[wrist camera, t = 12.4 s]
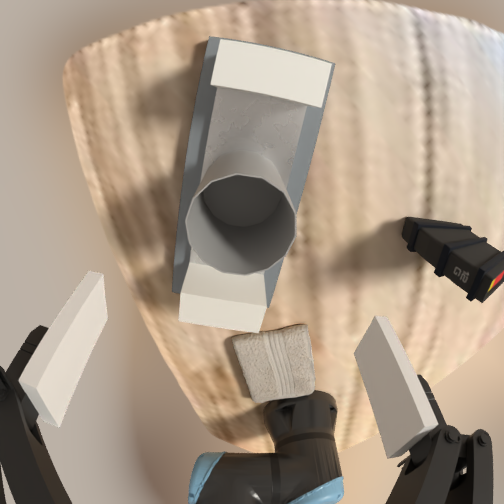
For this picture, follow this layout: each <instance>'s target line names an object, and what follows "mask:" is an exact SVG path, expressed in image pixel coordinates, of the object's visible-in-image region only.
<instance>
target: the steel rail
mask: <svg viewBox="0 0 504 504" xmlns="http://www.w3.org/2000/svg"><path fill="white" fill-rule="evenodd" d="M306 108H307V106H305V105H301V104H297V103H293V102H289V101H285V100H281V99H276V98H272V97H267V96H262V95H257V94H252V93H247V92H241V91H236V90H230V89H223V88H217V92H216V96H215V101H214V106H213V112H212V117H211V122H210V128H209V133H208V139H207V144H206V150H205V156H204V162H203V168H202V174H201V181H202V179H203V177H204V175H205V173H206V171H207V169H208V167H209V166H210V165H211V164H212V163H214V162H215V161H216V160H217V159H218V158H219V157H220V156H221V155H223V154H226V153H230V152H233V151H236V150H246V151H252V152H258V153H259V154H261V155H262V156H264V157H265V158H267V159H268V160H270V161H271V162H273V164H274V166H275V167H276V169H277V171H278V173H279V175H280V176H281V178H282V181H283V183H284V185H285V188H287V185H288V181H289V177H290V173H291V169H292V165H293V161H294V157H295V153H296V149H297V145H298V141H299V137H300V133H301V129H302V125H303V121H304V116H305V112H306ZM201 181H200V183H201ZM190 263H195V264H201V265H207V264H206V263H204V262H202V261H201V259H200V258H199V256H198V255H197V254H196V252H195V251H194V250H193V248H192V247H191V254H190ZM207 266H209V265H207ZM264 272H265V271H262V272H258V273H255V274H262V275H264Z"/></svg>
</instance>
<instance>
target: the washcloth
mask: <svg viewBox="0 0 504 504" xmlns="http://www.w3.org/2000/svg"><path fill="white" fill-rule="evenodd" d="M232 343H233V345H234V346H233V348H234V350H235V353H236V355H237V356H238V357H237V359H238V360H239V364H240V366H241V368H242V371H243V376H244V377H245V380H246V383H247V385H248V388H249V391H250V395H251V397H252V401H254V402H256V403H258V402H260V403H264V402H265V401H270V400H276V399H284V398H294V397H299V396H304V395H309V394H312V393H313V391H314V389H315V370H314V363H313V362H314V360H313V356H312V348H311V340H310V337H309V332H308V325H307V324H306V325H305V324H302V325H300V324H299V325H294V326H290V327H285V328H283V329H280V330H274V331H268V332H264V331H261V332H259V333H249V334H244V335H243V334H242V335H238V336H234V337H233V338H232Z"/></svg>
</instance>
